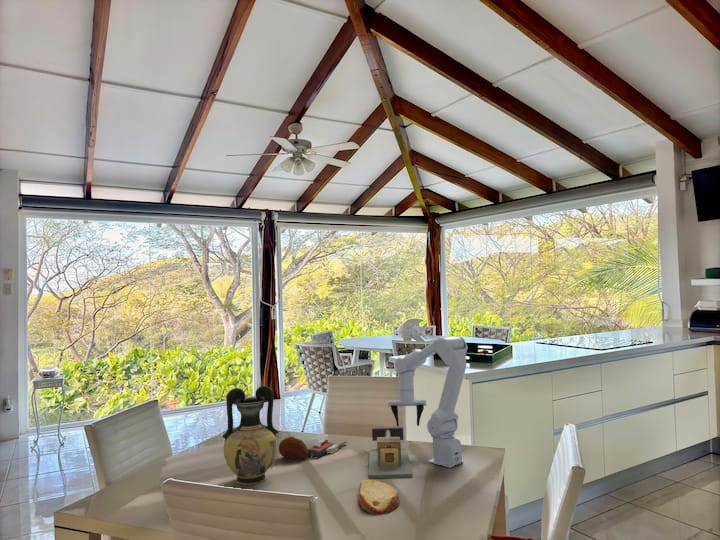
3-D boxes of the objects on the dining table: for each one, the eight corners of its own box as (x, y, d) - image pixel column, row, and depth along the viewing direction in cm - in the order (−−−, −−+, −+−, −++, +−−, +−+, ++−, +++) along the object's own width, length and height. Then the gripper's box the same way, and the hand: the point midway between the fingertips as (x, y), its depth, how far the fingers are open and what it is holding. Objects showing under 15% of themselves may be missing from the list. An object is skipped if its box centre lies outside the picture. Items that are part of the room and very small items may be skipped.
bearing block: (377, 459, 168) (377, 437, 169) (400, 459, 168) (399, 436, 169) (377, 465, 162) (377, 442, 163) (401, 465, 162) (400, 441, 163)
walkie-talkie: (322, 460, 174) (348, 445, 192) (322, 448, 174) (348, 434, 192) (302, 458, 178) (329, 443, 196) (301, 446, 178) (329, 432, 196)
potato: (304, 462, 171) (303, 440, 172) (274, 461, 174) (273, 439, 174) (311, 456, 179) (310, 434, 179) (282, 455, 181) (281, 433, 182)
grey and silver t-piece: (372, 439, 187) (372, 428, 187) (403, 438, 187) (402, 427, 187) (371, 456, 166) (371, 443, 166) (406, 456, 165) (406, 442, 166)
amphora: (226, 493, 144) (225, 393, 147) (220, 476, 160) (219, 385, 162) (283, 484, 151) (281, 387, 153) (272, 468, 166) (271, 380, 169)
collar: (380, 465, 162) (380, 447, 163) (398, 465, 162) (397, 447, 162) (380, 467, 161) (380, 448, 161) (398, 466, 161) (397, 448, 161)
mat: (369, 453, 179) (369, 450, 179) (407, 452, 179) (407, 449, 179) (368, 478, 153) (368, 475, 154) (412, 477, 153) (412, 474, 153)
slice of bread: (368, 484, 150) (367, 471, 150) (417, 496, 139) (417, 483, 139) (330, 503, 136) (329, 490, 136) (381, 519, 125) (381, 504, 125)
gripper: (424, 386, 187) (425, 422, 186) (387, 387, 187) (388, 423, 186) (426, 389, 180) (427, 426, 179) (387, 391, 180) (389, 427, 179)
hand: (407, 425), depth 182 cm, fingers open, 7 cm apart
